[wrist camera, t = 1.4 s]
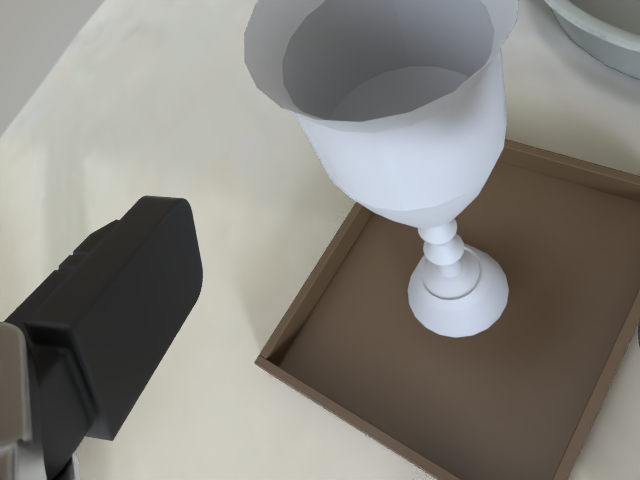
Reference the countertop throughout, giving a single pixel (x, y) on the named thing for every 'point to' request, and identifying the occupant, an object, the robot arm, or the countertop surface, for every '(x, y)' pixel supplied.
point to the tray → (486, 346)
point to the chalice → (401, 123)
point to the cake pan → (604, 30)
